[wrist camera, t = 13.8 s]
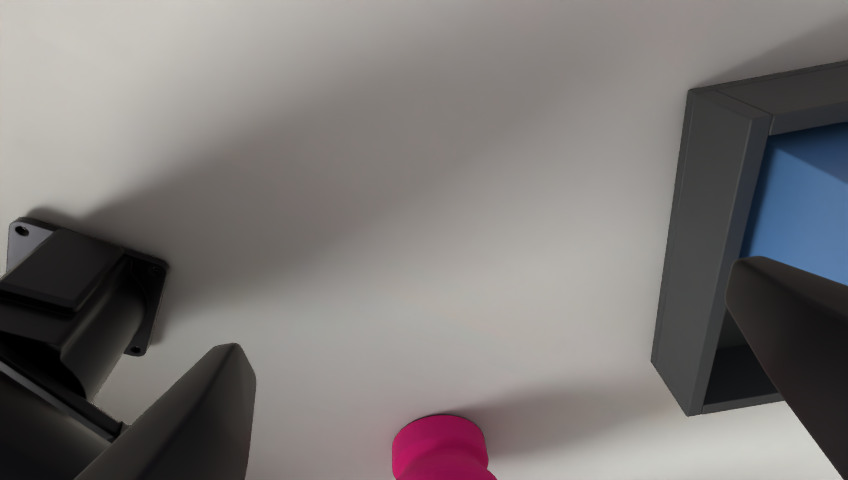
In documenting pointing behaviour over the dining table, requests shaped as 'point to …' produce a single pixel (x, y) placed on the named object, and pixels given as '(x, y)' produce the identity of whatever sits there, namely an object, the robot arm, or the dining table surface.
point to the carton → (803, 202)
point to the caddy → (726, 229)
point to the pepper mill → (440, 450)
